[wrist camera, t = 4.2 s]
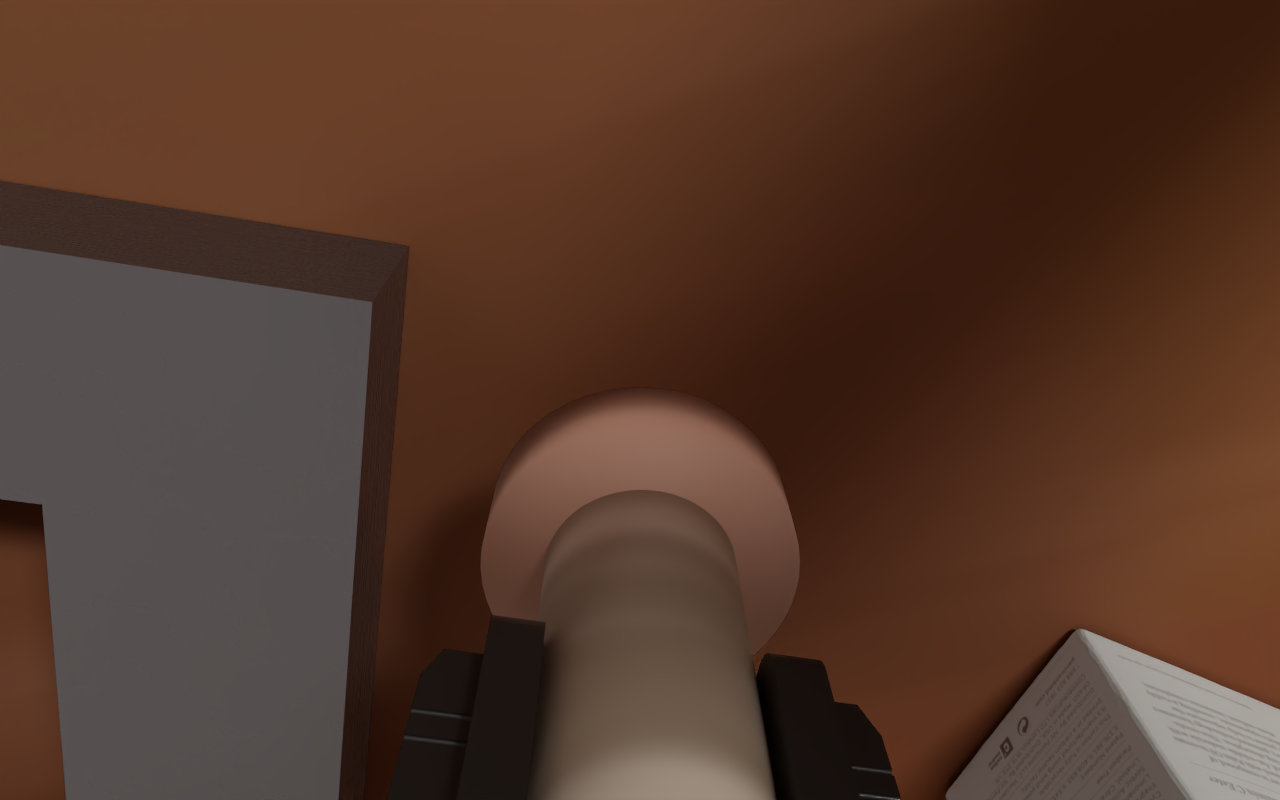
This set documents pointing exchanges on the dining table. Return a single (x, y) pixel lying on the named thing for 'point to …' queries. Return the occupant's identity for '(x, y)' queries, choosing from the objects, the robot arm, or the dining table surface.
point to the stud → (644, 594)
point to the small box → (1126, 735)
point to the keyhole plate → (202, 488)
